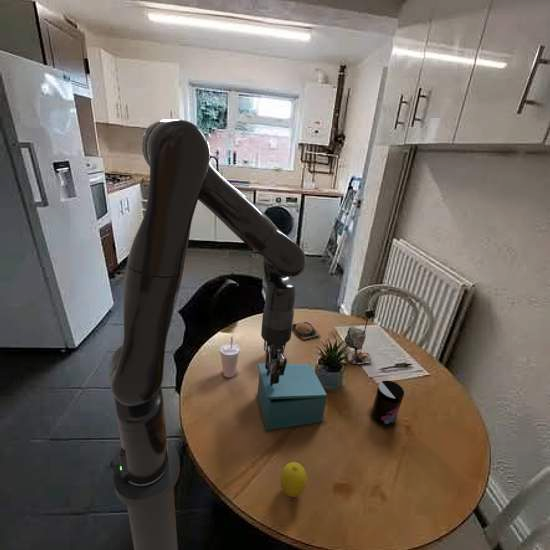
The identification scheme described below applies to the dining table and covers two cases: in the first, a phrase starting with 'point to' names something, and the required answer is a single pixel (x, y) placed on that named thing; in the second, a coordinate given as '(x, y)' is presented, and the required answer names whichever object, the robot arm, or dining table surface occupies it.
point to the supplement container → (387, 402)
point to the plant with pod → (358, 342)
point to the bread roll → (305, 330)
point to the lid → (292, 382)
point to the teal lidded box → (289, 410)
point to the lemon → (293, 479)
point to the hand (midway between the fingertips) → (271, 375)
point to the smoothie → (229, 358)
